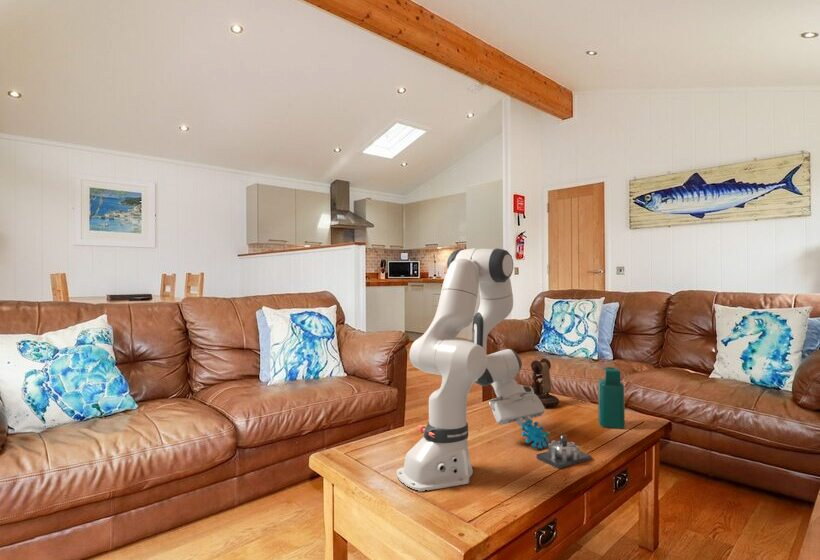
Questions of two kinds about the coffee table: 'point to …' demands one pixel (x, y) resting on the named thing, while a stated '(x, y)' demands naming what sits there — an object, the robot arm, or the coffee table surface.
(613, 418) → the green bottle
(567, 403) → the coffee table surface
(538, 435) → the gear
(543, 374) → the dark brown figurine
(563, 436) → the grey metal fixture
